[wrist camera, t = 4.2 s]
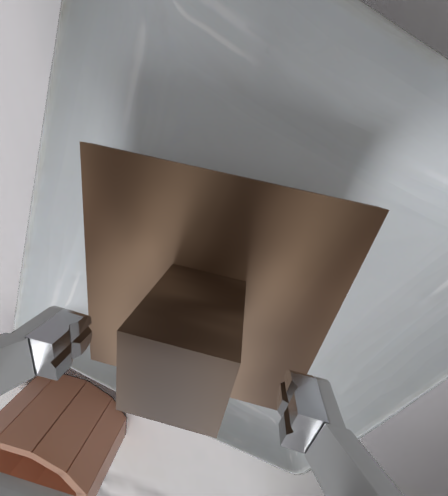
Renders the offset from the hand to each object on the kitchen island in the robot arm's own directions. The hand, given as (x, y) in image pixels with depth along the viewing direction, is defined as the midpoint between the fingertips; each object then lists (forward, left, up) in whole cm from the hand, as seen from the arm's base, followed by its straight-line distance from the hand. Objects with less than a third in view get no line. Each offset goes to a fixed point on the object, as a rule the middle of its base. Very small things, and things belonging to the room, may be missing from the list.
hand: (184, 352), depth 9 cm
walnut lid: (0, 0, -4) cm, 4 cm away
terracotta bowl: (+12, +22, -8) cm, 27 cm away
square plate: (-2, 0, -8) cm, 9 cm away
